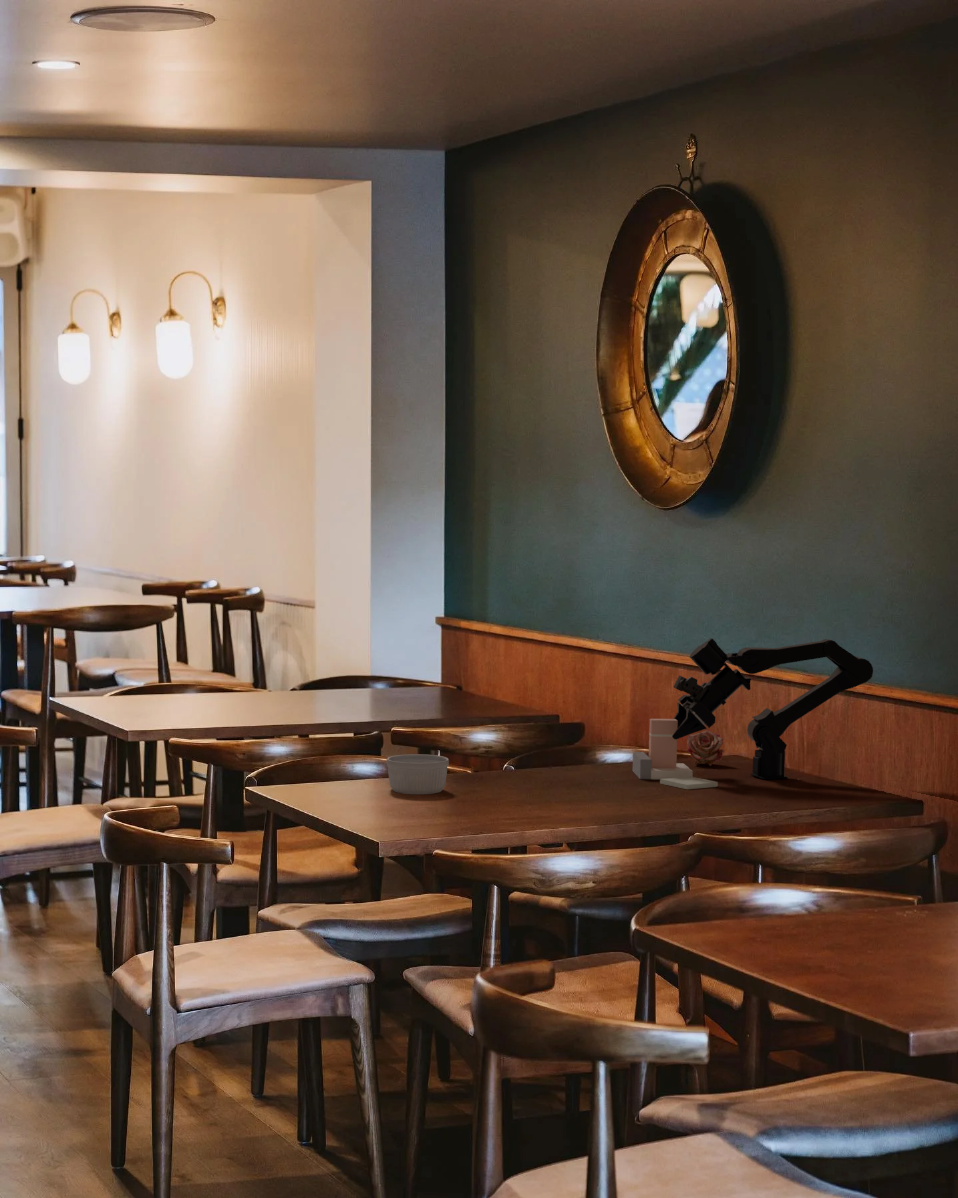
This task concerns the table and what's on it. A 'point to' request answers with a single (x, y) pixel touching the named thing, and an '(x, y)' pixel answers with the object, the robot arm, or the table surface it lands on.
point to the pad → (688, 782)
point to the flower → (705, 747)
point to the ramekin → (417, 773)
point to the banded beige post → (662, 743)
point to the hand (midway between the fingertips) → (670, 735)
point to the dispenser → (657, 769)
